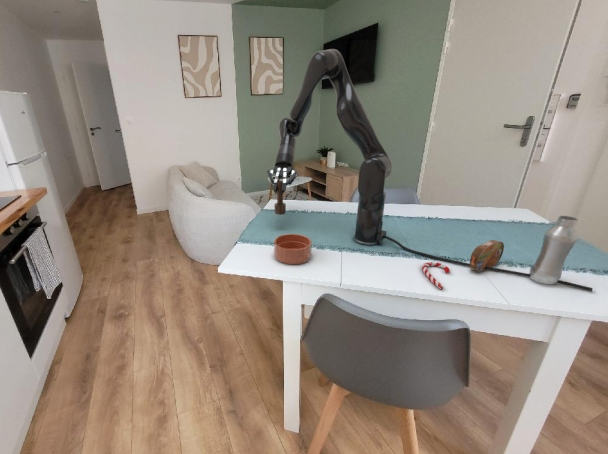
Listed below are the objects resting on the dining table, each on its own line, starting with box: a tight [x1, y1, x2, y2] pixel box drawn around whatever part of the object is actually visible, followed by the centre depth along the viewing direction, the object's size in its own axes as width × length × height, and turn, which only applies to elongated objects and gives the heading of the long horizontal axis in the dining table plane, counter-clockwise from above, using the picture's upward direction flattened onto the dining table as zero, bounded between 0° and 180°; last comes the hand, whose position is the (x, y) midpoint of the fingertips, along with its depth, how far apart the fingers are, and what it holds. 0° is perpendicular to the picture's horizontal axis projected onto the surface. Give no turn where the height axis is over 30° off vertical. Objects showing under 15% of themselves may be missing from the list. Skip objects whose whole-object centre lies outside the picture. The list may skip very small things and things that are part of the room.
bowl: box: [273, 233, 313, 265], centre depth 105 cm, size 13×13×6 cm
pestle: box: [274, 180, 287, 216], centre depth 124 cm, size 5×5×14 cm
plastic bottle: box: [528, 215, 579, 285], centre depth 82 cm, size 6×7×20 cm
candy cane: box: [421, 261, 451, 290], centre depth 90 cm, size 8×1×15 cm
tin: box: [468, 239, 505, 273], centre depth 93 cm, size 15×3×8 cm, turn 117°
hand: (278, 192), depth 121 cm, fingers closed on pestle, 2 cm apart
